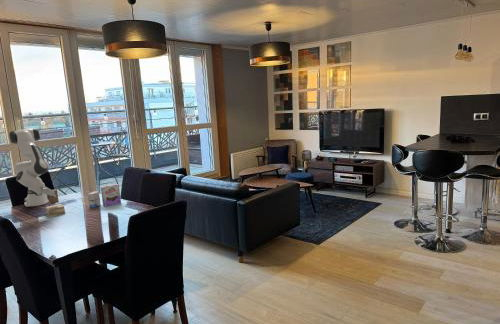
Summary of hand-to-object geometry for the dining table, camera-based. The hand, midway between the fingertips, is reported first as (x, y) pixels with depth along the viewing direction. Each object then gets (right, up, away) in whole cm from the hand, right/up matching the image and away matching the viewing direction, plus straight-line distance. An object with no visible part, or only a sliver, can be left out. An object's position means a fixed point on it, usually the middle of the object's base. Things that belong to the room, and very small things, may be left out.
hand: (53, 196), depth 268 cm
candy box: (+38, -9, +19) cm, 44 cm away
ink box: (+25, -10, +17) cm, 32 cm away
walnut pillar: (0, -5, 0) cm, 5 cm away
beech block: (+1, -14, +2) cm, 15 cm away
